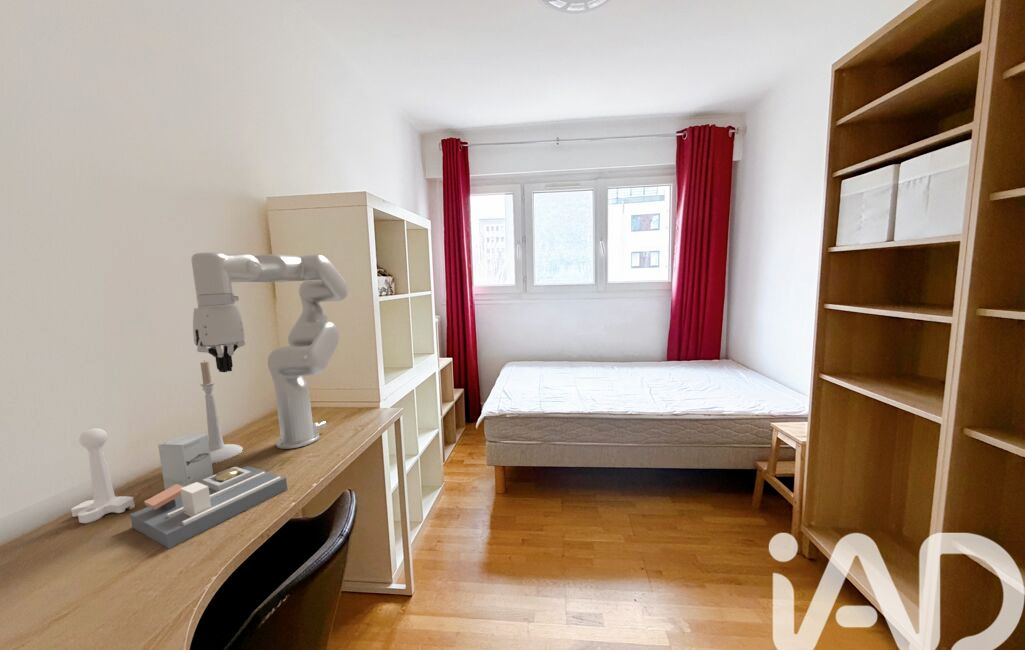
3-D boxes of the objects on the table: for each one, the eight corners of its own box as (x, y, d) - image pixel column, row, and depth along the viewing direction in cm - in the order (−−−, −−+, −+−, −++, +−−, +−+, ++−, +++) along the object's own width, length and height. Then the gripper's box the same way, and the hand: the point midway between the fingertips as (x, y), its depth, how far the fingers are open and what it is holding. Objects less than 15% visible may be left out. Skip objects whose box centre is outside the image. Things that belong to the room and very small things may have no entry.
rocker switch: (178, 487, 91) (176, 483, 90) (187, 491, 89) (185, 487, 88) (145, 505, 86) (144, 501, 85) (154, 509, 83) (153, 505, 83)
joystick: (139, 503, 95) (126, 423, 93) (109, 522, 88) (94, 436, 86) (91, 507, 95) (76, 427, 93) (57, 526, 87) (40, 440, 85)
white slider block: (199, 503, 87) (196, 481, 87) (211, 508, 85) (208, 486, 85) (183, 510, 85) (180, 488, 84) (195, 515, 82) (191, 493, 82)
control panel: (249, 476, 106) (246, 460, 106) (287, 489, 98) (285, 472, 98) (132, 527, 85) (128, 507, 85) (168, 548, 77) (165, 527, 77)
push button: (232, 474, 101) (231, 467, 100) (242, 477, 99) (241, 470, 98) (213, 482, 97) (212, 474, 97) (222, 486, 95) (221, 478, 95)
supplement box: (187, 493, 99) (180, 445, 98) (164, 491, 101) (156, 444, 99) (215, 478, 106) (208, 433, 105) (192, 477, 108) (186, 433, 106)
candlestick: (179, 466, 115) (164, 366, 112) (213, 448, 128) (200, 357, 125) (223, 464, 115) (208, 363, 112) (252, 446, 128) (240, 355, 124)
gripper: (239, 300, 110) (247, 364, 112) (173, 304, 97) (184, 377, 99) (254, 299, 106) (262, 366, 108) (188, 303, 93) (199, 379, 95)
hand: (225, 371), depth 103 cm, fingers closed
